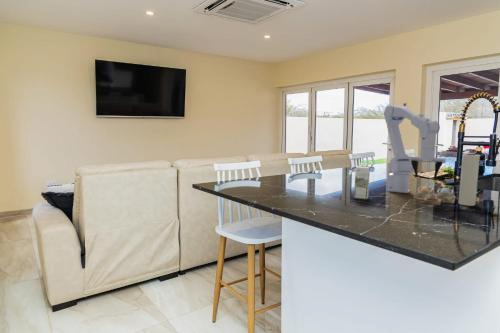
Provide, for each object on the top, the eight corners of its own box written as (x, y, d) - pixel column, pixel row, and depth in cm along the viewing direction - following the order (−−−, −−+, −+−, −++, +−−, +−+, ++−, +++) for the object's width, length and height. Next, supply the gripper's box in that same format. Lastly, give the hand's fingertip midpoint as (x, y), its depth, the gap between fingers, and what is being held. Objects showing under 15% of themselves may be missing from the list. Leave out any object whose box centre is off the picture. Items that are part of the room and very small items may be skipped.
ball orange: (418, 196, 157) (419, 187, 156) (420, 194, 160) (420, 186, 160) (428, 197, 155) (429, 188, 154) (429, 195, 158) (430, 187, 157)
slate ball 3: (439, 196, 157) (440, 187, 156) (440, 195, 160) (441, 186, 159) (449, 197, 154) (450, 188, 154) (450, 196, 158) (451, 187, 157)
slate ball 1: (420, 194, 161) (420, 186, 160) (421, 193, 164) (422, 184, 164) (429, 195, 159) (430, 187, 158) (430, 194, 162) (431, 185, 162)
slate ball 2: (438, 198, 152) (439, 189, 152) (439, 196, 156) (440, 188, 155) (449, 199, 150) (449, 190, 150) (449, 198, 154) (450, 189, 153)
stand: (422, 203, 147) (423, 198, 147) (424, 200, 153) (425, 195, 152) (439, 205, 144) (440, 200, 144) (441, 202, 149) (441, 197, 149)
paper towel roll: (469, 206, 141) (474, 155, 139) (455, 203, 147) (459, 153, 144) (479, 205, 145) (484, 154, 142) (465, 202, 150) (469, 153, 147)
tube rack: (413, 198, 156) (413, 190, 155) (417, 194, 167) (417, 186, 166) (454, 203, 147) (454, 194, 147) (455, 198, 158) (456, 189, 158)
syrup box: (368, 197, 158) (370, 166, 156) (367, 199, 153) (368, 167, 151) (355, 196, 160) (357, 165, 159) (353, 198, 155) (355, 166, 153)
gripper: (408, 147, 155) (406, 177, 157) (445, 149, 148) (443, 180, 149) (411, 147, 161) (409, 175, 163) (446, 148, 153) (444, 178, 155)
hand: (425, 177), depth 156 cm, fingers open, 7 cm apart
